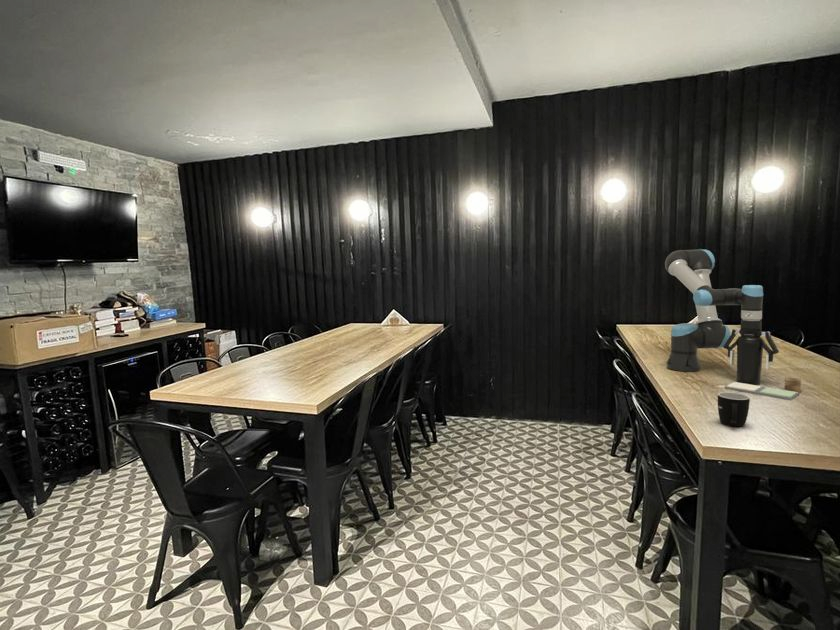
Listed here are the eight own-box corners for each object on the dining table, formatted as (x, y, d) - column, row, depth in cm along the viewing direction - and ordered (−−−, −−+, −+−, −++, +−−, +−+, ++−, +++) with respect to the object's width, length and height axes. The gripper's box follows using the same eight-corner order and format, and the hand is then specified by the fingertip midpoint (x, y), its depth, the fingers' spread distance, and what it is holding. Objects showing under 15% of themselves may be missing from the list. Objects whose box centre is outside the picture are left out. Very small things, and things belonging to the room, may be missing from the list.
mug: (716, 418, 159) (717, 390, 158) (747, 421, 154) (748, 393, 153) (717, 429, 149) (718, 400, 148) (750, 433, 144) (752, 403, 143)
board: (724, 388, 194) (724, 385, 193) (734, 383, 200) (734, 381, 200) (790, 400, 175) (791, 397, 175) (799, 394, 182) (799, 391, 181)
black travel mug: (763, 382, 201) (766, 332, 198) (760, 387, 194) (763, 335, 191) (736, 378, 208) (738, 330, 205) (732, 383, 200) (734, 333, 198)
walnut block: (784, 391, 187) (785, 379, 186) (784, 388, 191) (785, 377, 190) (800, 393, 184) (800, 381, 183) (799, 390, 188) (800, 378, 187)
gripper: (716, 318, 205) (714, 363, 207) (783, 322, 185) (781, 372, 187) (722, 317, 210) (721, 361, 212) (789, 320, 190) (786, 369, 192)
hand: (749, 366), depth 200 cm, fingers open, 13 cm apart
